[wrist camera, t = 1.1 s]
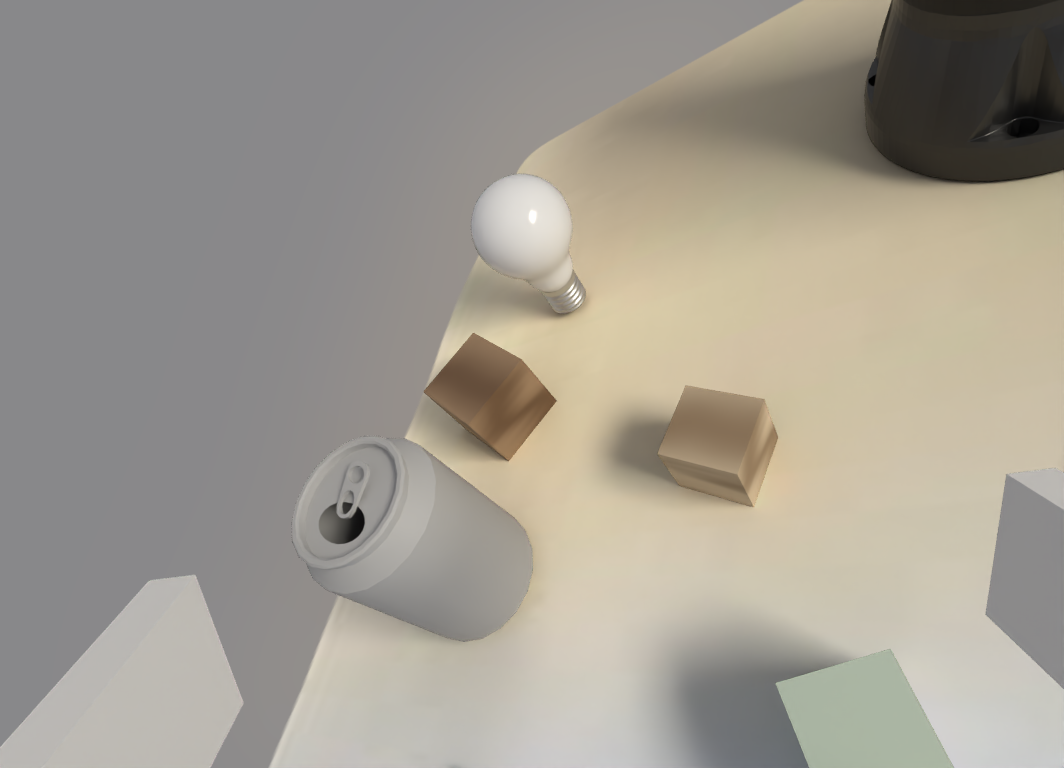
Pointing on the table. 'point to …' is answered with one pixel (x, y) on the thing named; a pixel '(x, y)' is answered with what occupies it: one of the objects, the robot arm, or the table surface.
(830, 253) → the table surface
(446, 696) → the table surface
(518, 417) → the walnut block
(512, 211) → the lightbulb
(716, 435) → the oak block
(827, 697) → the sage block
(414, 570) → the can
